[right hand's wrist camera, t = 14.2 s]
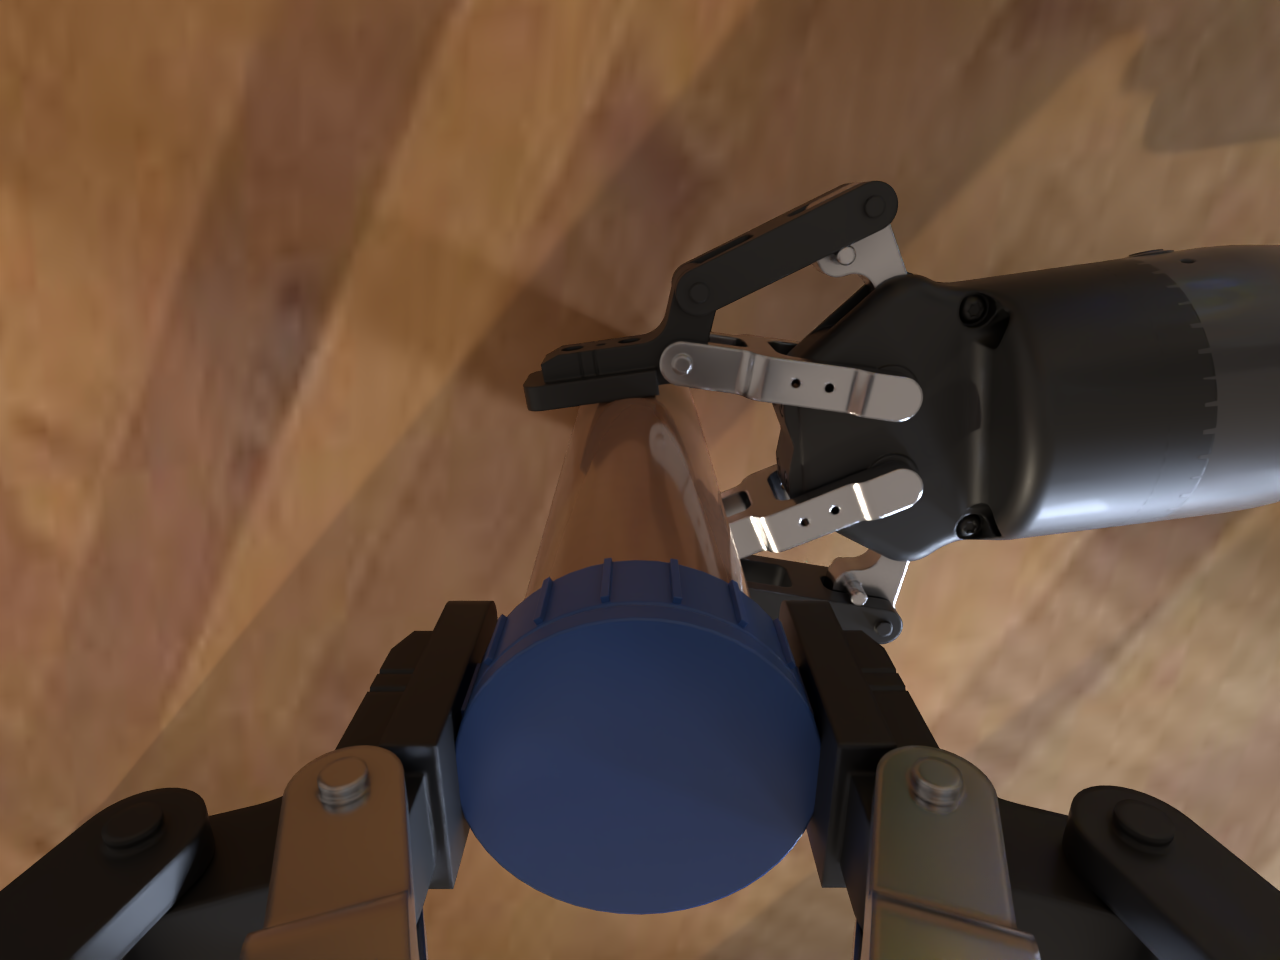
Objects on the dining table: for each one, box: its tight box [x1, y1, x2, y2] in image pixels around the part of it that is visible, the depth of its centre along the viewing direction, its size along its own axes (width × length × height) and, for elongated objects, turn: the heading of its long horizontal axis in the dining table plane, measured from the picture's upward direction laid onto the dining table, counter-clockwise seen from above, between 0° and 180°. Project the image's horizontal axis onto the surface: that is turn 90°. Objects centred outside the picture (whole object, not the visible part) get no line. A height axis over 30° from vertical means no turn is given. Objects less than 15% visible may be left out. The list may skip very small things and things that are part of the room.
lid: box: [455, 558, 821, 914], centre depth 10 cm, size 5×5×2 cm
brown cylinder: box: [525, 384, 751, 599], centre depth 19 cm, size 4×4×19 cm
